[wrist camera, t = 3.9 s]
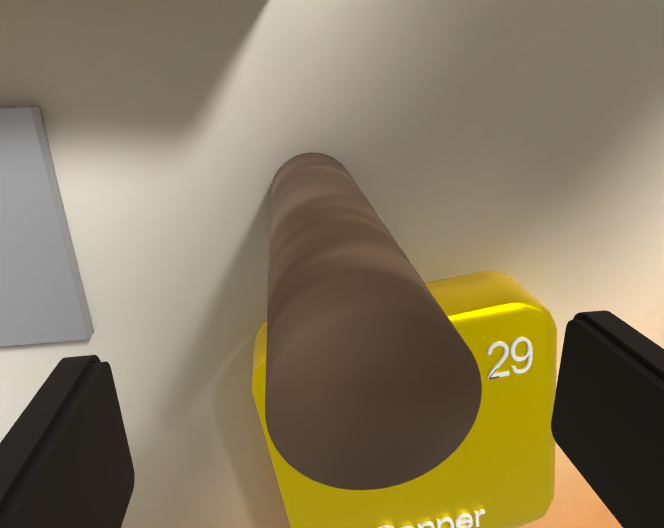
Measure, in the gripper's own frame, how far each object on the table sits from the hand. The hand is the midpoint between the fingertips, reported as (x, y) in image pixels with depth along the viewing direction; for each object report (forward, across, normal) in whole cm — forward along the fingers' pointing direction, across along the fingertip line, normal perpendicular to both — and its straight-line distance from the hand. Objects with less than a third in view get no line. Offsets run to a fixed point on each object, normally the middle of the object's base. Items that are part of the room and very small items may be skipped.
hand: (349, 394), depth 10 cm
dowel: (+15, 0, -1) cm, 15 cm away
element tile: (+16, -5, +12) cm, 21 cm away
